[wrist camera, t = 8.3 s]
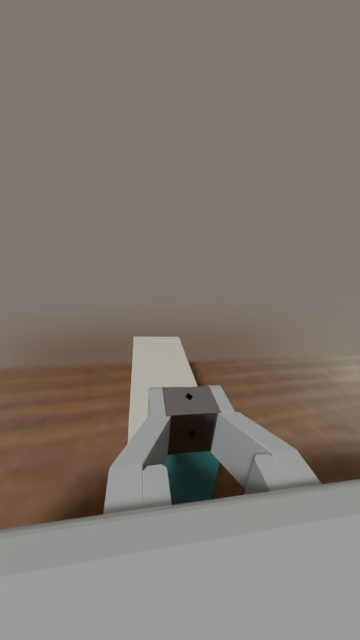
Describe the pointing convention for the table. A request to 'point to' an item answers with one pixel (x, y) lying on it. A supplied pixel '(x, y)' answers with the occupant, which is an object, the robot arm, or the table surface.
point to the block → (147, 372)
